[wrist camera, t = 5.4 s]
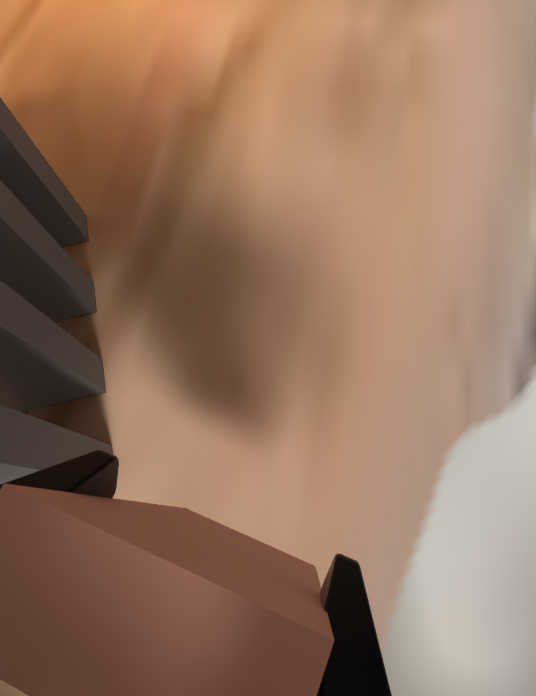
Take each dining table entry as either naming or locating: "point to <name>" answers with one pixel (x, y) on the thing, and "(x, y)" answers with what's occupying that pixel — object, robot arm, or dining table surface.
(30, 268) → the domino
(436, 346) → the dining table surface
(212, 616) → the loose domino
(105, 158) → the dining table surface
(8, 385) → the domino
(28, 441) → the domino
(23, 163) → the domino
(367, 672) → the robot arm
